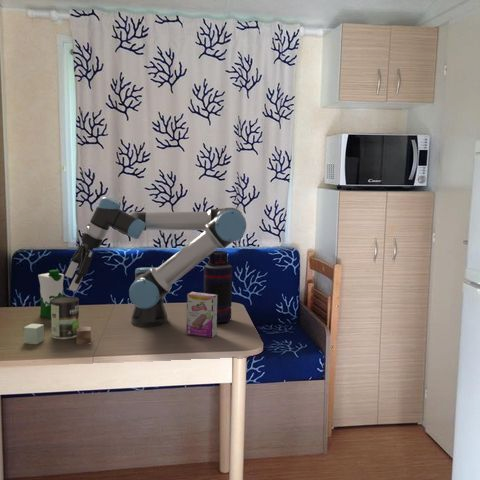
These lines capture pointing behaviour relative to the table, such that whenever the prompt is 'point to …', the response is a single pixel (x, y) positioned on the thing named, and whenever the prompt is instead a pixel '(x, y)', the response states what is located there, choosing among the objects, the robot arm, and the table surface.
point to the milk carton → (50, 290)
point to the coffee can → (64, 317)
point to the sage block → (34, 333)
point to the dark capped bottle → (219, 283)
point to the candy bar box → (201, 314)
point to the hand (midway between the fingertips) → (70, 283)
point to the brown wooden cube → (83, 335)
